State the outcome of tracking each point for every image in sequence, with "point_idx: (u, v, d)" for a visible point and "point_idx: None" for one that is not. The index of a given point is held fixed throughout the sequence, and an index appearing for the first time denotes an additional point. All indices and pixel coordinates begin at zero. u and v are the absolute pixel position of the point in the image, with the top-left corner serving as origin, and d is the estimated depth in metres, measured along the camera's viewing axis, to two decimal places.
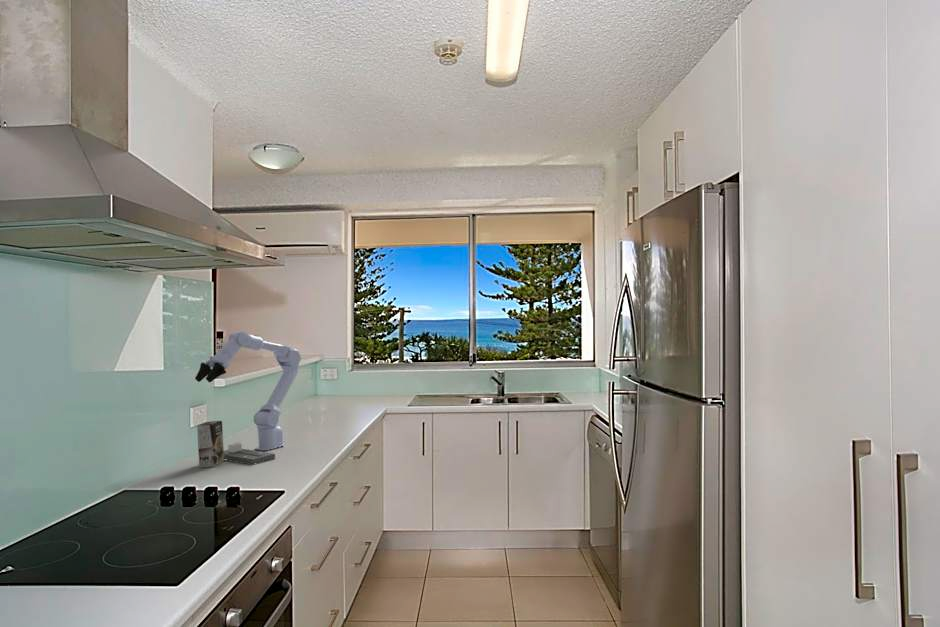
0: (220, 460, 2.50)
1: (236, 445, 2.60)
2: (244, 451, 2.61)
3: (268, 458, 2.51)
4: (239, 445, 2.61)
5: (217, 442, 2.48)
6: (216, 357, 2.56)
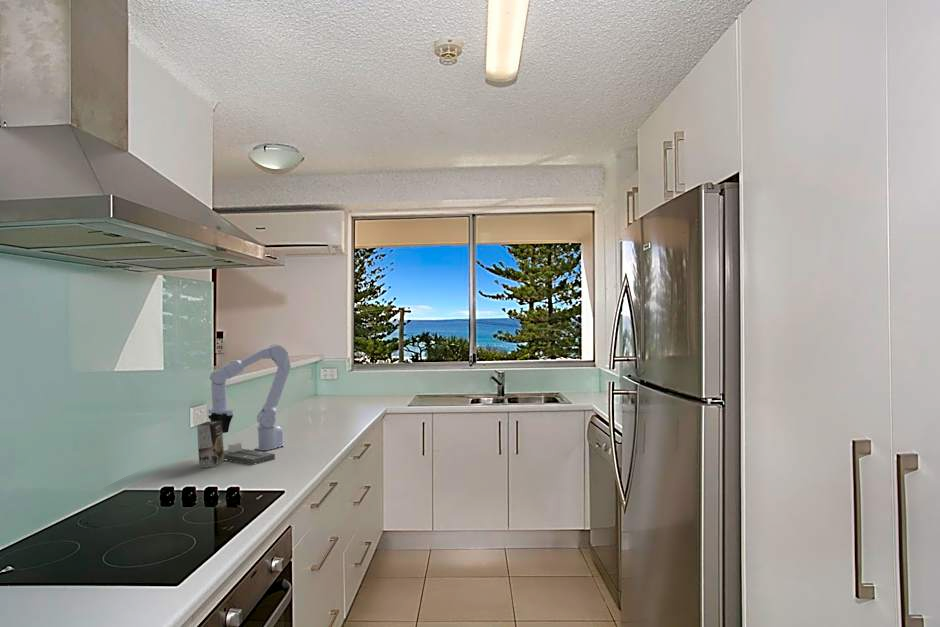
0: (220, 460, 2.50)
1: (236, 445, 2.60)
2: (244, 451, 2.61)
3: (268, 458, 2.51)
4: (239, 445, 2.61)
5: (217, 442, 2.48)
6: (216, 409, 2.64)
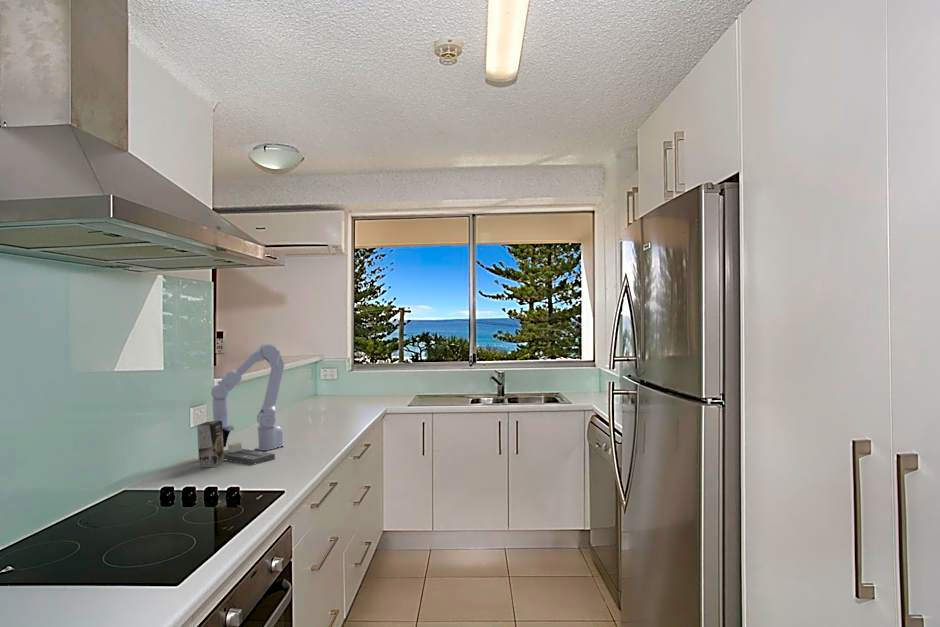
0: (220, 460, 2.50)
1: (236, 445, 2.60)
2: (244, 451, 2.61)
3: (268, 458, 2.51)
4: (239, 445, 2.61)
5: (217, 442, 2.48)
6: None
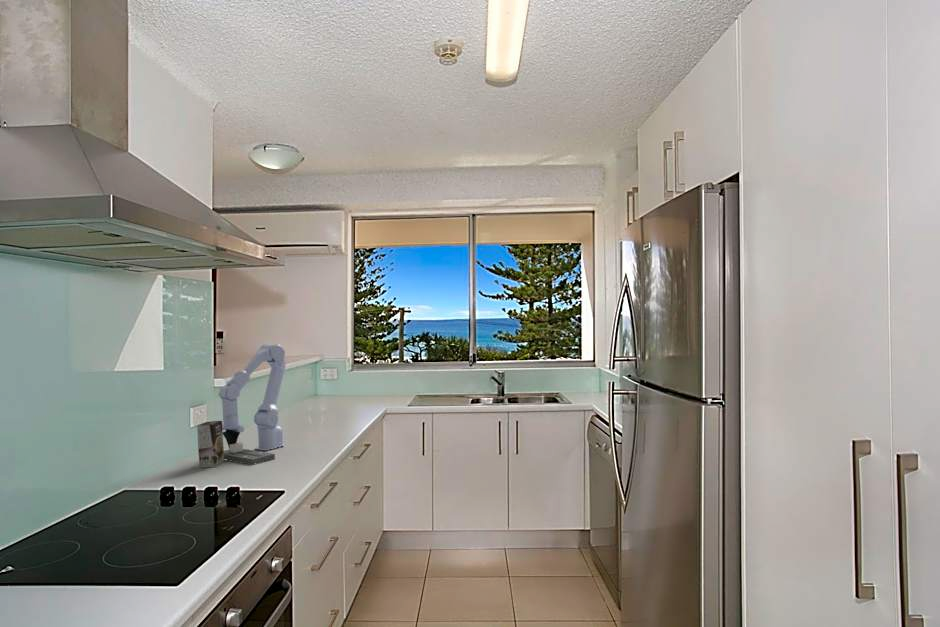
0: (220, 460, 2.50)
1: (237, 445, 2.59)
2: (244, 451, 2.61)
3: (268, 458, 2.51)
4: (240, 445, 2.61)
5: (217, 442, 2.48)
6: (226, 425, 2.59)
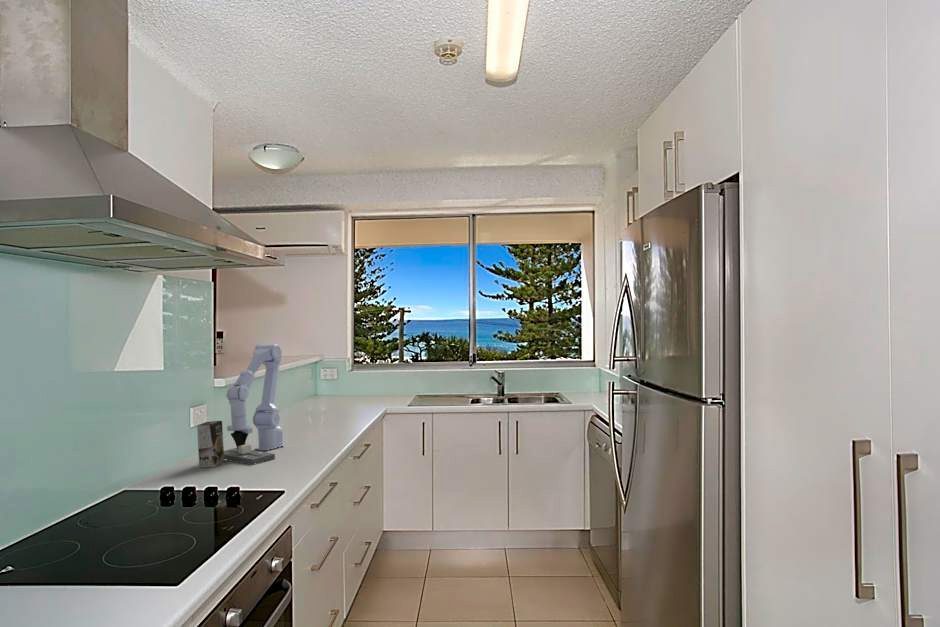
0: (220, 460, 2.50)
1: (246, 447, 2.56)
2: None
3: (268, 458, 2.51)
4: (249, 446, 2.57)
5: (217, 442, 2.48)
6: (235, 426, 2.56)
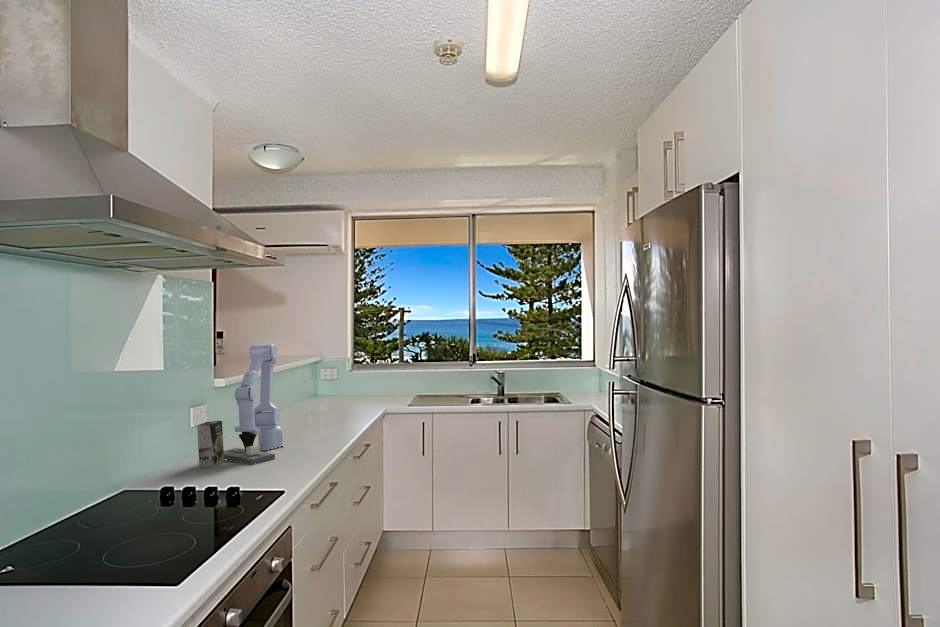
0: (220, 460, 2.50)
1: (254, 448, 2.53)
2: (244, 451, 2.61)
3: (268, 458, 2.51)
4: (257, 448, 2.54)
5: (217, 442, 2.48)
6: (243, 427, 2.52)
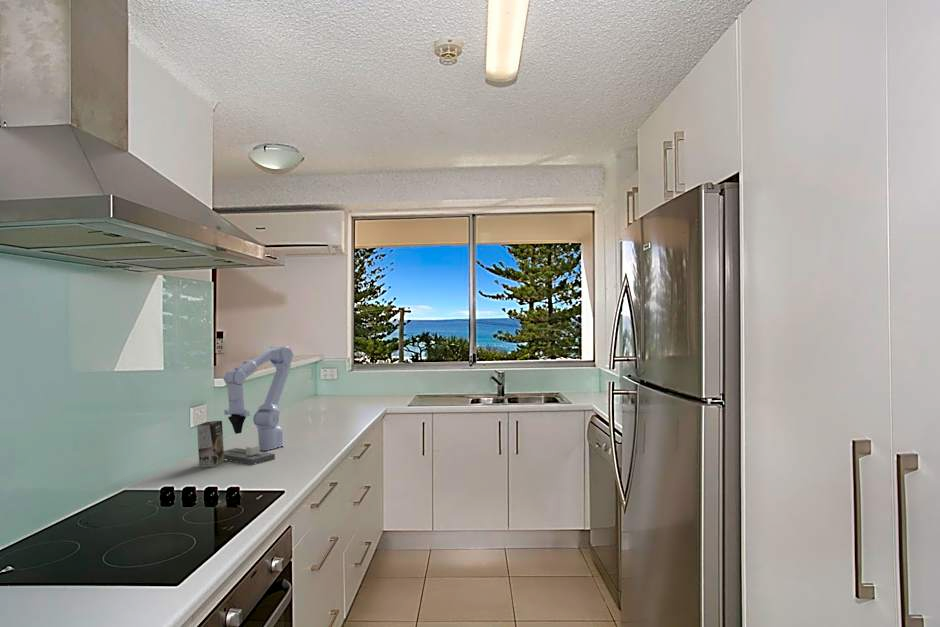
0: (220, 460, 2.50)
1: (254, 448, 2.53)
2: (244, 451, 2.61)
3: (268, 458, 2.51)
4: (257, 448, 2.54)
5: (217, 442, 2.48)
6: (232, 410, 2.59)
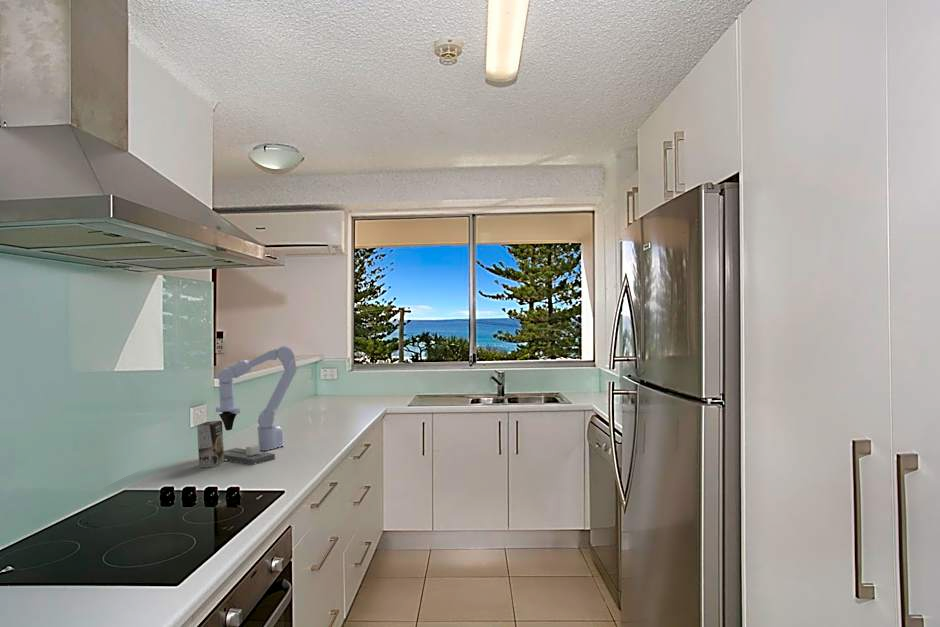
0: (220, 460, 2.50)
1: (254, 448, 2.53)
2: (244, 451, 2.61)
3: (268, 458, 2.51)
4: (257, 448, 2.54)
5: (217, 442, 2.48)
6: (223, 407, 2.67)
